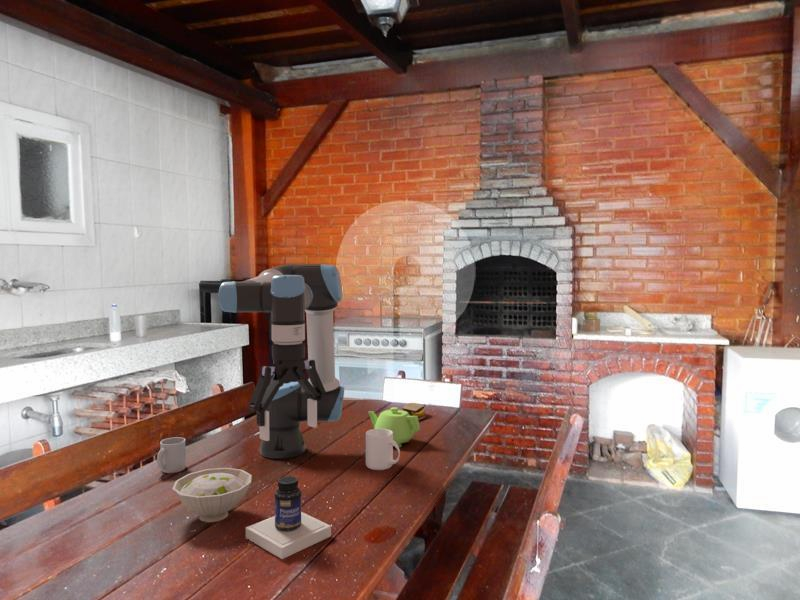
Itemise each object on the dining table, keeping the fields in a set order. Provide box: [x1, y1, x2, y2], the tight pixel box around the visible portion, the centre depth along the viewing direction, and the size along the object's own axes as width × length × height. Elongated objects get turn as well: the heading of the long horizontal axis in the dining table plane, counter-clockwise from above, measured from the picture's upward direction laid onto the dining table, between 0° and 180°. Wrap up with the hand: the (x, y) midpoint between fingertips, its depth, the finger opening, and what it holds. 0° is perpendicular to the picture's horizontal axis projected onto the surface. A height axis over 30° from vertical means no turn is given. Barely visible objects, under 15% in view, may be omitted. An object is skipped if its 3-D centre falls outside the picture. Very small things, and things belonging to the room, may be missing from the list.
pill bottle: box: [274, 475, 302, 531], centre depth 131 cm, size 6×6×11 cm
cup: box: [156, 436, 187, 474], centre depth 173 cm, size 7×10×9 cm
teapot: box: [368, 406, 421, 448], centre depth 201 cm, size 20×13×13 cm
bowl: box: [171, 467, 253, 523], centre depth 142 cm, size 19×19×10 cm
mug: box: [365, 428, 401, 471], centre depth 177 cm, size 9×12×11 cm
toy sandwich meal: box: [401, 402, 426, 421], centre depth 234 cm, size 12×14×5 cm
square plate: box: [245, 511, 332, 560], centre depth 132 cm, size 14×14×3 cm
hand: (289, 432), depth 131 cm, fingers open, 13 cm apart
